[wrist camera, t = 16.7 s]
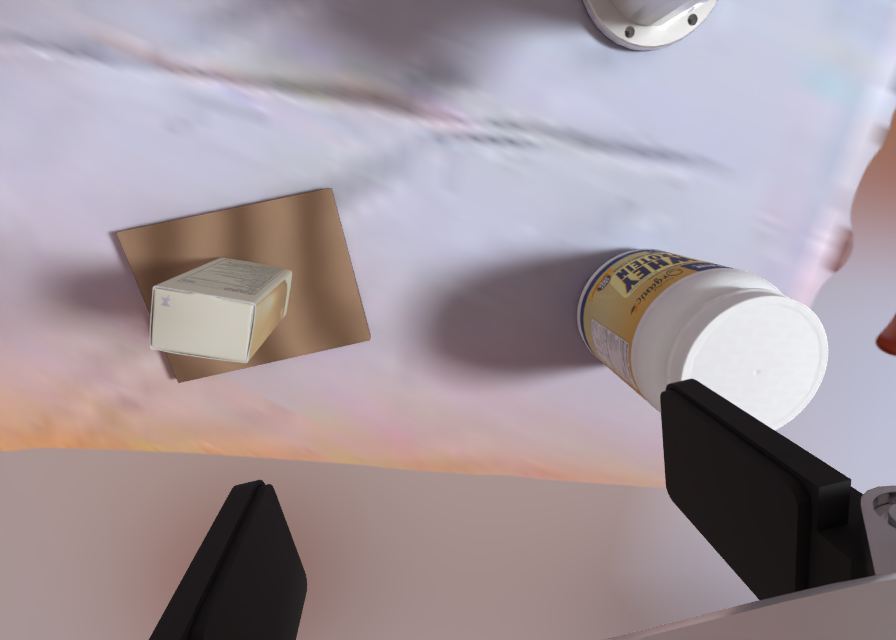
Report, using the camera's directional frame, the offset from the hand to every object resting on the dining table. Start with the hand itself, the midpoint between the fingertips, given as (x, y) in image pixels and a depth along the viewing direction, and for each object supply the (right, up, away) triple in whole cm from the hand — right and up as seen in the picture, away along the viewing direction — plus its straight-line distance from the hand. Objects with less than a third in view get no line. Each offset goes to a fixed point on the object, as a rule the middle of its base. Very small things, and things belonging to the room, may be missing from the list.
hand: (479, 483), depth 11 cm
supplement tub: (+18, +5, +36) cm, 40 cm away
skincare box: (-18, +7, +30) cm, 35 cm away
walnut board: (-18, +7, +31) cm, 37 cm away
